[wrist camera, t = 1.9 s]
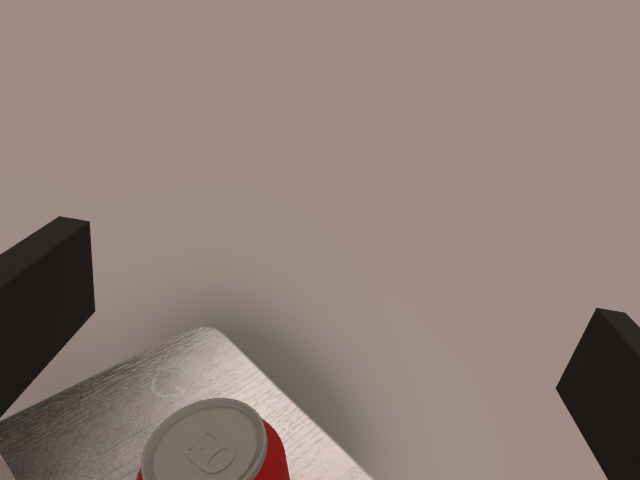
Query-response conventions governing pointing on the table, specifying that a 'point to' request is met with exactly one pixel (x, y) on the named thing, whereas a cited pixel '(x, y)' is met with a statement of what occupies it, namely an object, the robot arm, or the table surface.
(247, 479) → the beverage can
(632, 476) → the robot arm
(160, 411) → the table surface
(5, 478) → the mug
